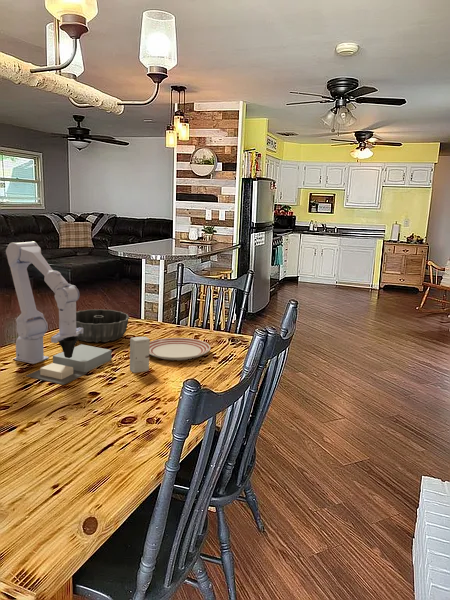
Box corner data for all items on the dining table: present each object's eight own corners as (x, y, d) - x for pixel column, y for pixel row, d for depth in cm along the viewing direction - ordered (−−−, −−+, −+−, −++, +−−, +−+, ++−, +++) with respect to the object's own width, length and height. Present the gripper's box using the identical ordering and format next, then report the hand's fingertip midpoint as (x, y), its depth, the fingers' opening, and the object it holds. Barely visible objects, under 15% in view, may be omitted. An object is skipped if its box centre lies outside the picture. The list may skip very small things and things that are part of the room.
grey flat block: (53, 366, 170) (52, 355, 169) (81, 354, 184) (81, 344, 183) (84, 373, 165) (84, 362, 164) (111, 359, 179) (111, 350, 178)
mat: (25, 376, 159) (25, 375, 159) (50, 365, 170) (50, 365, 170) (63, 385, 153) (63, 384, 153) (86, 373, 164) (86, 372, 164)
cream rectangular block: (52, 362, 165) (52, 369, 166) (40, 368, 160) (40, 374, 160) (73, 367, 162) (73, 373, 163) (61, 372, 157) (61, 379, 157)
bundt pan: (138, 333, 217) (138, 312, 215) (112, 349, 192) (112, 326, 190) (87, 327, 222) (86, 306, 220) (55, 342, 197) (54, 319, 195)
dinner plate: (129, 357, 184) (129, 349, 183) (164, 340, 209) (164, 333, 208) (192, 369, 174) (192, 361, 173) (220, 350, 199) (220, 342, 198)
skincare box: (133, 373, 167) (134, 341, 164) (129, 369, 170) (129, 337, 168) (149, 370, 170) (150, 338, 168) (144, 366, 174) (145, 335, 171)
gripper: (62, 326, 155) (63, 365, 158) (90, 317, 169) (90, 353, 171) (45, 323, 158) (46, 361, 161) (74, 314, 171) (74, 350, 174)
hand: (68, 357), depth 166 cm, fingers closed
